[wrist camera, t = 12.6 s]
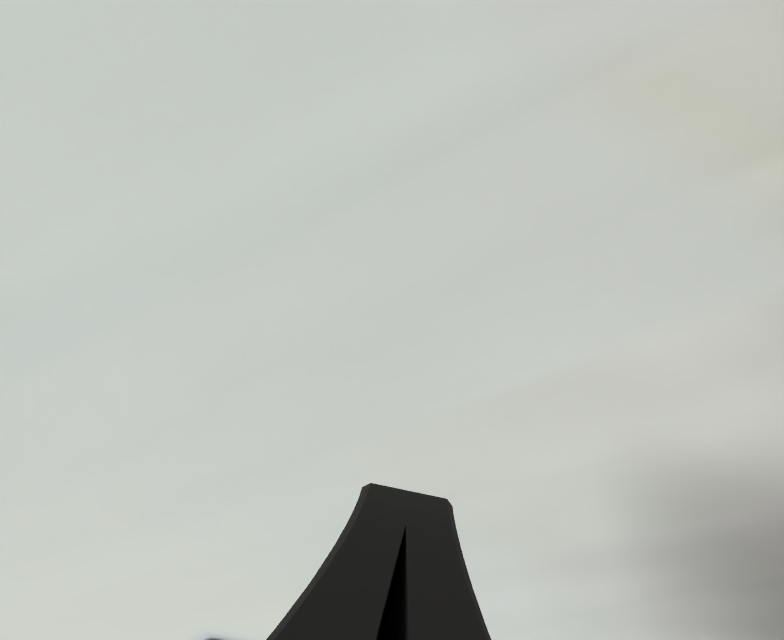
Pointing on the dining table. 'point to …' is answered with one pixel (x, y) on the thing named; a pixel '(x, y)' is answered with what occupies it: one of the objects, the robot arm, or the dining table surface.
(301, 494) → the dining table surface
